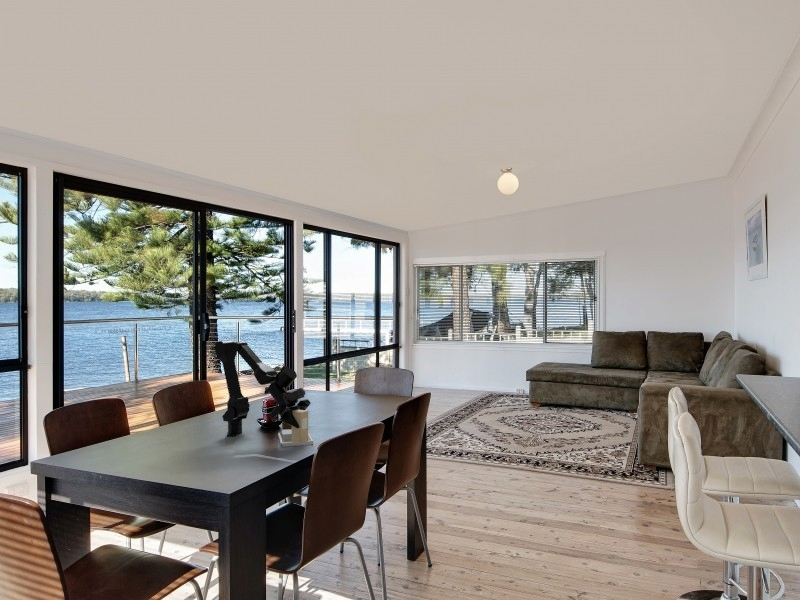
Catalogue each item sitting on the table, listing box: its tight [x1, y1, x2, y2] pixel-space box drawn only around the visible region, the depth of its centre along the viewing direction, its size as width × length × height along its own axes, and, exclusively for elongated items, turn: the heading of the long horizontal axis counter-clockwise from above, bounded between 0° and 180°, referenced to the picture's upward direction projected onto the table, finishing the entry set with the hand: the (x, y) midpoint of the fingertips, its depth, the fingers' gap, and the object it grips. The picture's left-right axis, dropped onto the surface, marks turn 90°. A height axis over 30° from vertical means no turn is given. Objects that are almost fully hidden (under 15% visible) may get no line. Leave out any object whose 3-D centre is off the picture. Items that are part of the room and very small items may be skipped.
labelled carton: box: [292, 409, 309, 442], centre depth 220 cm, size 5×4×12 cm
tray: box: [277, 431, 314, 448], centre depth 224 cm, size 18×12×2 cm, turn 15°
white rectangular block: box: [281, 429, 292, 441], centre depth 226 cm, size 8×4×2 cm, turn 15°
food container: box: [281, 421, 292, 431], centre depth 243 cm, size 12×6×10 cm, turn 168°
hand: (302, 426), depth 219 cm, fingers closed on labelled carton, 4 cm apart
